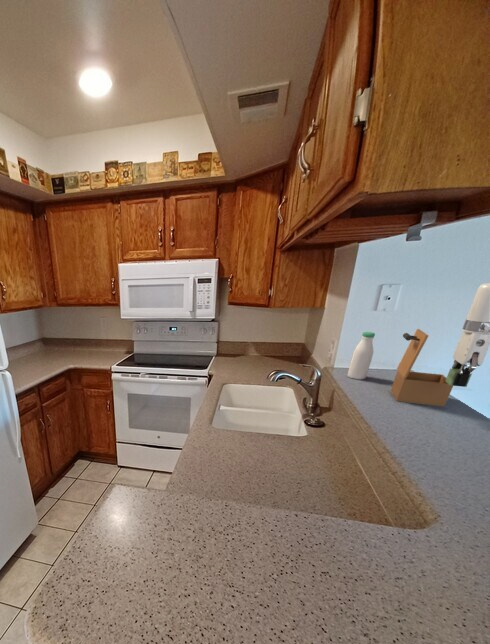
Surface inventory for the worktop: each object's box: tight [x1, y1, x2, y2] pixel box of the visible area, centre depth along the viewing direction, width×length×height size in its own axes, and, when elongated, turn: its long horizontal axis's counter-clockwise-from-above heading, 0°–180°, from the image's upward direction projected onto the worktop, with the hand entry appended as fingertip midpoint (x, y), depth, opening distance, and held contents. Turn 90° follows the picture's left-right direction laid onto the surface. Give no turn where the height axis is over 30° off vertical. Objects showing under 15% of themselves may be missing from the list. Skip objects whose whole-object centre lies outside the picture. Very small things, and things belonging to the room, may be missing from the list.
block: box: [446, 367, 473, 388], centre depth 108 cm, size 4×4×4 cm
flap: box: [396, 328, 429, 379], centre depth 123 cm, size 16×12×5 cm
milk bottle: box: [347, 331, 376, 380], centre depth 146 cm, size 8×8×20 cm
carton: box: [390, 370, 454, 407], centre depth 126 cm, size 15×12×9 cm
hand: (456, 382), depth 109 cm, fingers closed on block, 4 cm apart
